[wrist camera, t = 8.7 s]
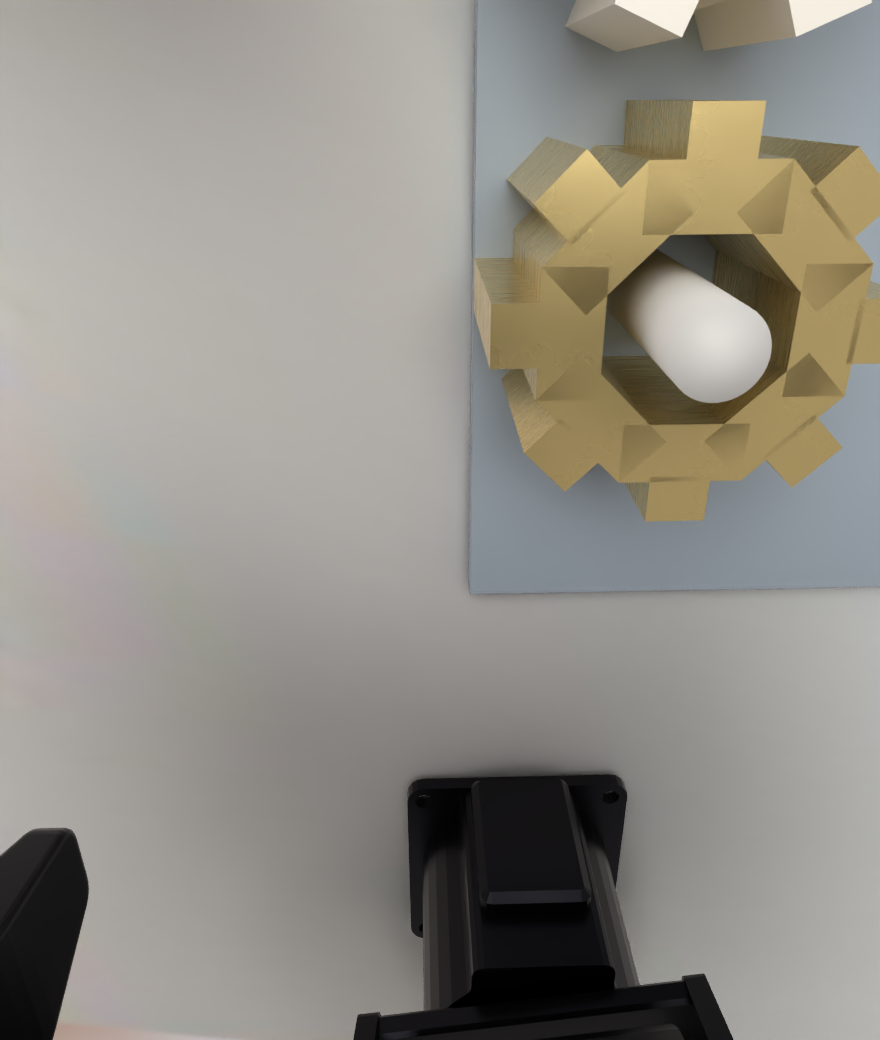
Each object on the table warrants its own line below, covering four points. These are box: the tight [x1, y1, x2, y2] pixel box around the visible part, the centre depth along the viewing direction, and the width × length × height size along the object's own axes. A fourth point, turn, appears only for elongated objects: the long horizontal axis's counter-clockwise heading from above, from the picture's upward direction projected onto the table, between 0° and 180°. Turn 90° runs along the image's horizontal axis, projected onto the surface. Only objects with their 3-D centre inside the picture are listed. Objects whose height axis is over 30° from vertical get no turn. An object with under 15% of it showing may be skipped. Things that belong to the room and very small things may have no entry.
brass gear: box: [474, 100, 880, 521], centre depth 16 cm, size 7×7×4 cm
